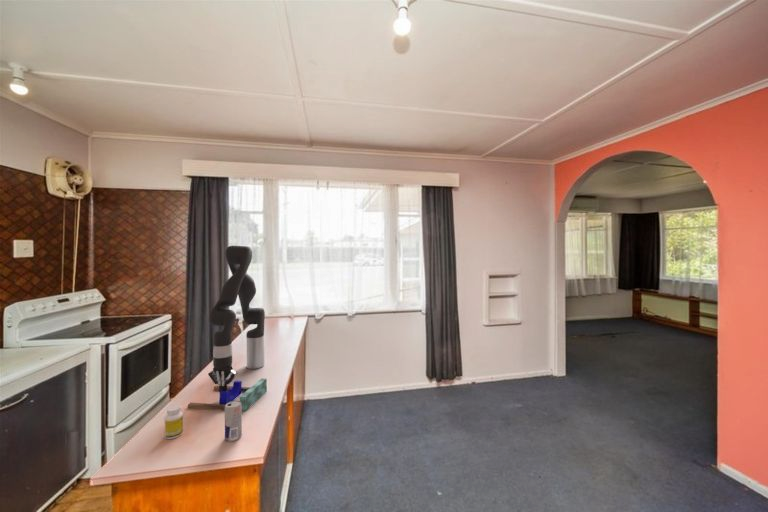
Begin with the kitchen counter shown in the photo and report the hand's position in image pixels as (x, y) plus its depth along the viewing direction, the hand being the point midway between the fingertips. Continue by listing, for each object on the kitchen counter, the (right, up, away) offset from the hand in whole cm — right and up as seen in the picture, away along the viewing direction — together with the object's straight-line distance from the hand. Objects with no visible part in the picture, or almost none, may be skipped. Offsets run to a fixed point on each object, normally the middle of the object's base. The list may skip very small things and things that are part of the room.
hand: (222, 393), depth 136 cm
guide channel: (+2, -3, 0) cm, 3 cm away
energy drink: (+18, -3, -28) cm, 33 cm away
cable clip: (+3, -3, 0) cm, 4 cm away
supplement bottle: (-4, -3, -26) cm, 27 cm away
